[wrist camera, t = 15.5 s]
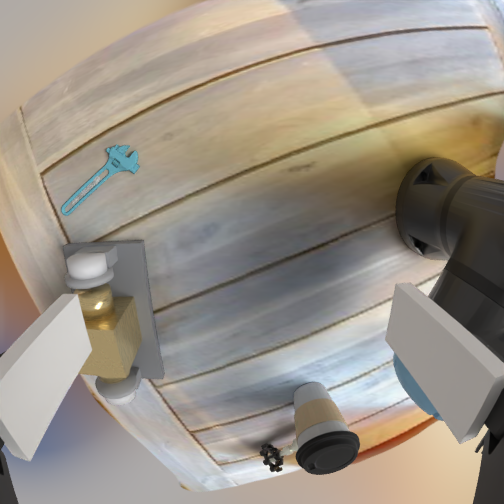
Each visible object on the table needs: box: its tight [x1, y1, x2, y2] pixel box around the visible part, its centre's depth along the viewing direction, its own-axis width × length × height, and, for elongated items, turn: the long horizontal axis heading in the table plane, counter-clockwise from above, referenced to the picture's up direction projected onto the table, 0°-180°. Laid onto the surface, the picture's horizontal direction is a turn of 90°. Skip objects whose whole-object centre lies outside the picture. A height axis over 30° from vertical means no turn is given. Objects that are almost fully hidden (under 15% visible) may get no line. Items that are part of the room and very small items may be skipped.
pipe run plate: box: [63, 240, 165, 406], centre depth 38 cm, size 12×22×9 cm, turn 1°
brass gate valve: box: [74, 283, 142, 384], centre depth 37 cm, size 8×13×9 cm, turn 1°
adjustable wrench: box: [61, 145, 140, 216], centre depth 37 cm, size 14×1×5 cm
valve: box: [260, 439, 298, 472], centre depth 50 cm, size 7×7×12 cm
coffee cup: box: [293, 382, 360, 475], centre depth 42 cm, size 9×9×15 cm
